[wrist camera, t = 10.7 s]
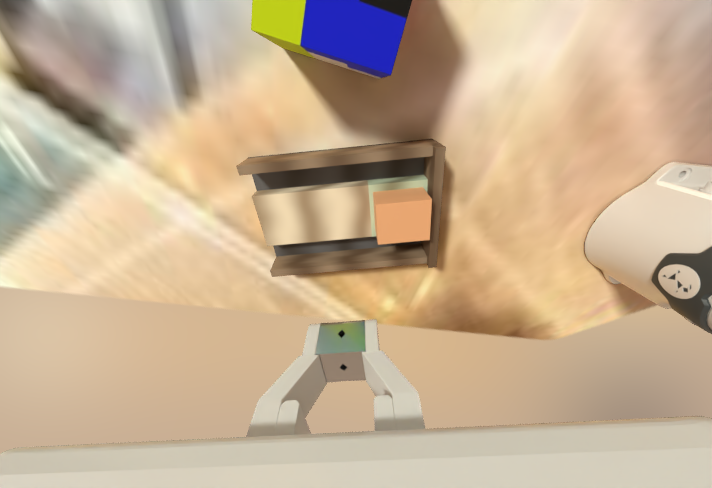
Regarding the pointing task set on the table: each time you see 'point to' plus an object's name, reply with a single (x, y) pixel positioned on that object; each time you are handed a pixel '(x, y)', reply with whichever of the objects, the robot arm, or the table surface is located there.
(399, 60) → the table surface
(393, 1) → the puzzle toy
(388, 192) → the block
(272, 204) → the box
